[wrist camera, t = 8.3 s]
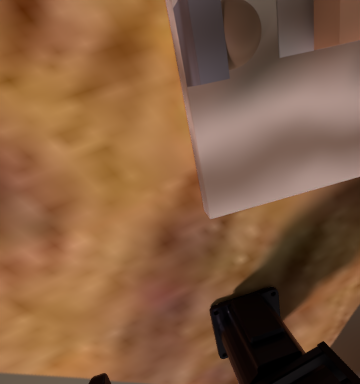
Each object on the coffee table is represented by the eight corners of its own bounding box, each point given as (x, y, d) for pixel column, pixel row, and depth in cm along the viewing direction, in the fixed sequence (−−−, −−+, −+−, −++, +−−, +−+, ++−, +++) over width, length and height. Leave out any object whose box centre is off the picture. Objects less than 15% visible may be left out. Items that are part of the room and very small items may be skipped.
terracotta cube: (343, 44, 16) (371, 37, 14) (313, 50, 16) (339, 44, 14) (345, -15, 15) (376, -31, 13) (313, -9, 15) (340, -24, 13)
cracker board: (414, 152, 23) (483, 165, 18) (204, 210, 20) (226, 241, 16) (453, -135, 16) (578, -222, 12) (147, -96, 14) (160, -185, 9)
